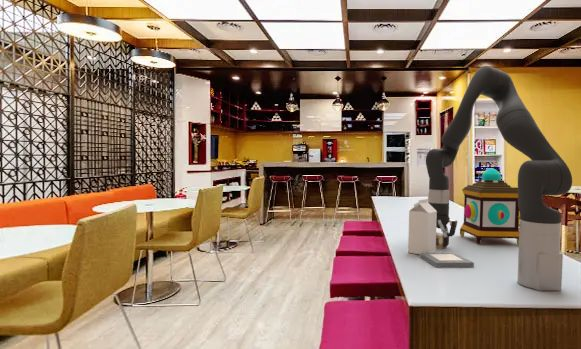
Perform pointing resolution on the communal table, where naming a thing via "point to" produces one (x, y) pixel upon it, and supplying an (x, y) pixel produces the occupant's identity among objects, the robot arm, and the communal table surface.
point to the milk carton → (422, 228)
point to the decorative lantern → (491, 208)
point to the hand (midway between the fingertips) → (437, 245)
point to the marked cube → (439, 240)
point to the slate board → (446, 260)
